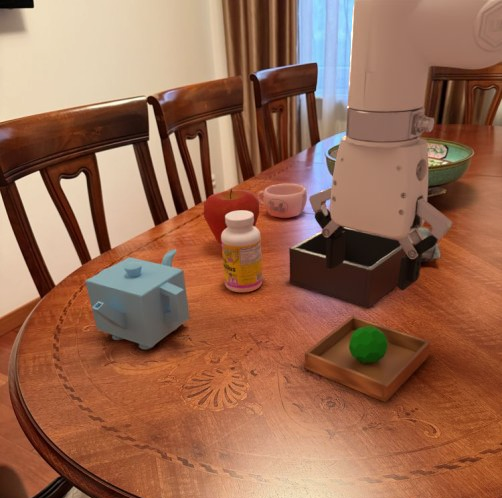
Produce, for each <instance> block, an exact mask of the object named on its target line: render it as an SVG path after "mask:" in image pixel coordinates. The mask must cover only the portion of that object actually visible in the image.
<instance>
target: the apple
mask: <svg viewBox="0 0 502 498" xmlns="http://www.w3.org/2000/svg"><path fill="white" fill-rule="evenodd" d="M239 210H244V211H250V212H252V213H253V215H254V222H253V226H254V227H256V224H257V220H258V218H259V215H260V203H259V199H258V198H257V196H256V194H255V193H253V192H252V191H251V190H245V189H237V190H235V189H232V188H230V190H224V191H220V192H216V193H213V194H211V195H210V196H208V197H207V199H206V200H205V201H204V203H203V218H204V220H205V221H206V223H207V226H208V227H209V229H210V231H211V233H212V234H213V236H214V238H215V240H216V242H217V243H218V244H220V246H222V243H221V234H222V232H223V231H224V230H225V229H226V228H227V225H226V222H225V215H226V214H228V213H230V212H233V211H239Z"/></svg>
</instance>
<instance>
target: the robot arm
mask: <svg viewBox="0 0 502 498" xmlns="http://www.w3.org/2000/svg"><path fill="white" fill-rule="evenodd" d="M350 41H351V42H350V44H351V45H350V56H349V58H350V59H349V76H348V91H347V92H348V93H347V112H346V128H345V130H346V131H345V135H344V136H341V138H340V142H339V145H338V149H337V152H336V157H335V162H334V166H333V173H332V179H331V180H332V181H331V187H328V188H326V189H324V190H321V191H318V192H317V193H314V194H312V195H310V196H309V197H308V198H309V199H308V201H309V203H310V206H311V208H312V211H313V213H314V219H315V221H316V222H317V224H318V225H319V227H320V228H321V229H322V230H321V231H322V234H323V236H324V237H326V258H327V263H326V267H327V268H329V269H332V268H334V267H336V266H337V265H339V264H341V263H342V262H343V261H344V257H345V241H346V234H345V232H344V231H342V229H343V228H344V227H346V228H350V229H354V230H358V231H362V232H366V233H371V234H375V235H379V236H384V237H388V238H394V239H398V241H399V243H400V244H401V246H402V248H403V250H404V251H405V253H406V255H405V256H404V257H402V259H401V264H400V272H399V280H398V285H397V288H398V289H399V290H401V291H405V290H407V288H409V287H410V286H411V285H412V284H413V283H416V282H417V281H418V279H419V276H420V272H421V265H422V262H421V259H422V254H423V253H424V252H426V251H427V250H429V249H430V248H432V247H433V246H435V245H436V244H439V243H440V242H441V240H442V239H443V238H444V236H446V233H448V231H449V230H450V229H451V227H452V226H453V222H452V220H451V219H450V218H448V217H447V216H446V215H445V214H443V213H442V212H441V211H440V210H438V209H437V208H436V207H434V206H433V205H432V204H431V203H429V202H428V194H429V149H428V148H429V147H428V140H427V139H424V138H420V136H422V134H423V133H431V132H432V131H433V130H434V127H435V118H434V117H428V116H427V115H425V111H426V108H425V107H424V104H425V96H426V88H427V80H428V74H429V73H428V72H429V68H431V67H444V68H445V67H446V68H454V69H463V70H480V69H481V70H482V69H487V68H491V67H493V66H495V65H497V64H499V63H501V62H502V0H354V2H353V9H352V24H351V40H350ZM327 201H329V209H328V208H327ZM425 223H426V224H428V225H429V226H430V227H431V229H430V230H431V232H430V234H429V235H428V236H427V237H426V238H425V239H424V238H423V236H422V234H421V233H420V231H419V229H418V228H420V227H423V226H424V224H425Z"/></svg>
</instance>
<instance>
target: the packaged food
mask: <svg viewBox="0 0 502 498" xmlns="http://www.w3.org/2000/svg"><path fill="white" fill-rule="evenodd" d="M418 229H419V231H420V233H421V234H422V236H423V238H424V239H425V238H426V237H427V236H428V235H429V234H430V232H431V230H432V229H431V228H428V227H423V226H422V227H420V228H418ZM441 258H442V254H441V251H440V246H439V243H437V244H436V245H435V246H433V247H432V248H430V249H429V250H427V251H426V252H424V253H423V254H422V259H421V263H430V262H435V261H437V260H439V259H441Z"/></svg>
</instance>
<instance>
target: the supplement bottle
mask: <svg viewBox="0 0 502 498" xmlns="http://www.w3.org/2000/svg"><path fill="white" fill-rule="evenodd" d="M225 222H226V225H227V228H226V229H225V230H224V231H223V232H222V234H221V243H222V245H221V251H222V252H221V254H222V264H223V265H222V266H223V278H224V279H223V280H224V285H225V287H226V288H227V289H228V290H230V291H231V292H235V293H249V292H253V291H255V290H257V289H259V288H260V287H261V286H262V284H263V264H262V263H263V262H262V240H261V239H262V238H261V232H260V230H259V228H257V227H256V226H255V227H254V226H253V222H254V215H253V213H252V212H250V211H244V210H239V211H233V212H230V213H228V214H226V215H225Z"/></svg>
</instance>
